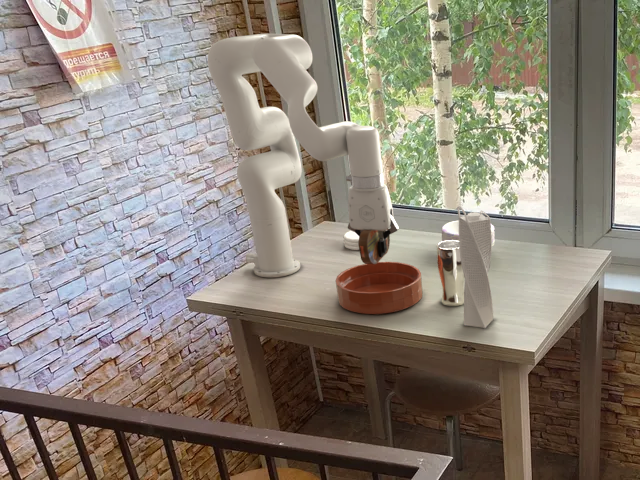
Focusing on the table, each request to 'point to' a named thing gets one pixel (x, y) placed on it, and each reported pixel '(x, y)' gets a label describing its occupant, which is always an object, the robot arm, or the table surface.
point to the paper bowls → (457, 231)
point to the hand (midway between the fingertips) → (376, 254)
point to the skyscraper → (476, 267)
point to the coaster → (351, 240)
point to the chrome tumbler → (450, 272)
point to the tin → (370, 246)
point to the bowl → (379, 287)
